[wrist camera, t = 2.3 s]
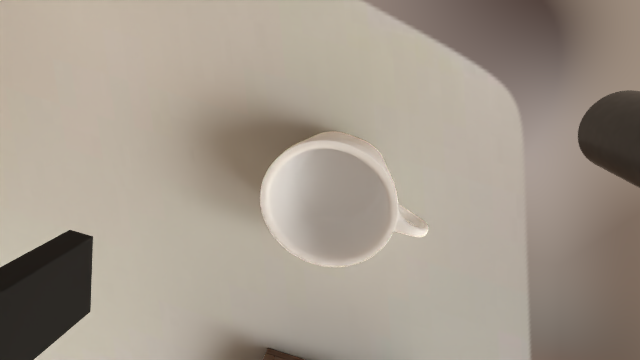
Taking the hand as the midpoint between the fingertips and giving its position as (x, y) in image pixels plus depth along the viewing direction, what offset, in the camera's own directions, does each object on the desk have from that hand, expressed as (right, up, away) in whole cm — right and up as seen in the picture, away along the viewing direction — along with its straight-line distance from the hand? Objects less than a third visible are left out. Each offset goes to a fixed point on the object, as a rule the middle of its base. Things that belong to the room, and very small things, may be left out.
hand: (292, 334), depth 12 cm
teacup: (+3, +4, +16) cm, 17 cm away
